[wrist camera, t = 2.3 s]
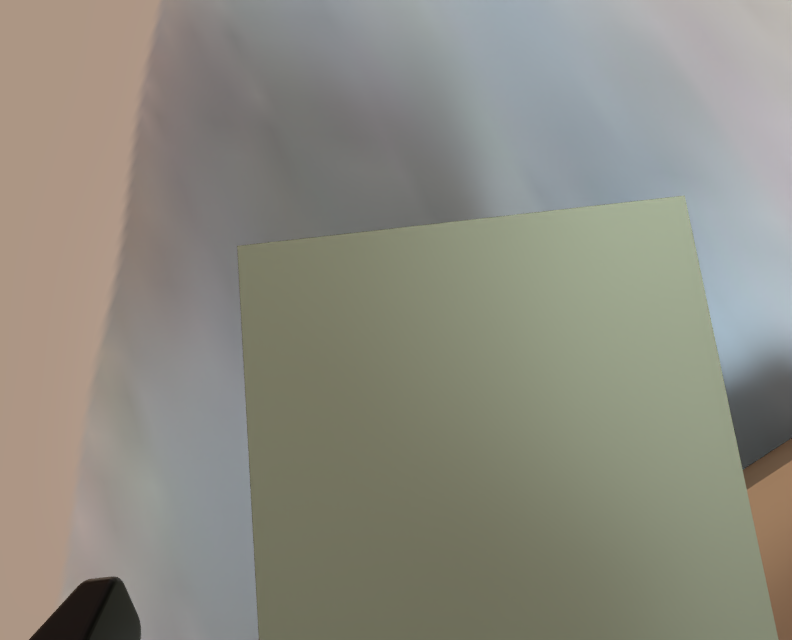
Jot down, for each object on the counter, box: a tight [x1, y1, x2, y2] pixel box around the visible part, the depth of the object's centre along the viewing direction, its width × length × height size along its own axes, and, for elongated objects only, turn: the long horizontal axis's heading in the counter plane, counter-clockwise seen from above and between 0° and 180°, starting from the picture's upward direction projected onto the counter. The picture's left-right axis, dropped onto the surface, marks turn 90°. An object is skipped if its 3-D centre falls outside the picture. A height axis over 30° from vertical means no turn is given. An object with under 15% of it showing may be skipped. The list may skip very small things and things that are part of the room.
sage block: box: [237, 196, 778, 640], centre depth 13 cm, size 5×5×11 cm
